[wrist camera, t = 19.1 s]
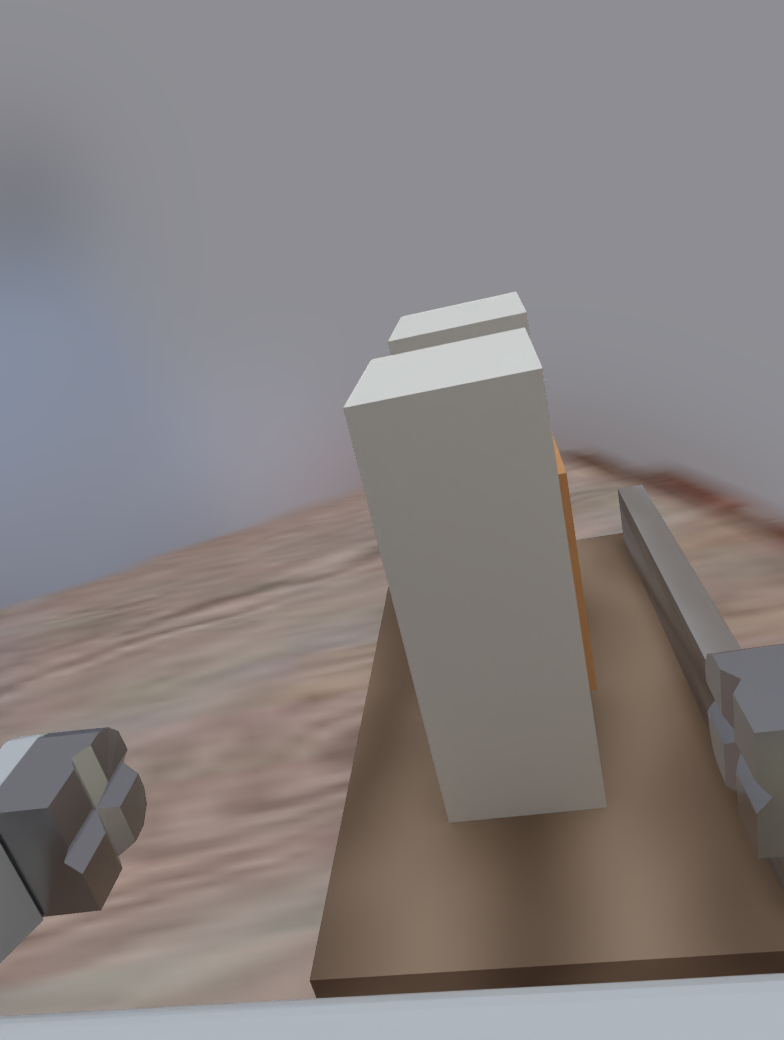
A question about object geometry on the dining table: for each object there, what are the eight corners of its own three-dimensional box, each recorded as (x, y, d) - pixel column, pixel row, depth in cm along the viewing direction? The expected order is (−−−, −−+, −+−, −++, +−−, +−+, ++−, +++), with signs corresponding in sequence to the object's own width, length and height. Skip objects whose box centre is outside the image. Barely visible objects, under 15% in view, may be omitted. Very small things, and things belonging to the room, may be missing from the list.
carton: (459, 662, 32) (388, 341, 27) (460, 594, 38) (401, 316, 32) (582, 645, 31) (533, 310, 26) (565, 578, 37) (521, 290, 31)
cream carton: (449, 823, 24) (343, 407, 19) (452, 705, 29) (371, 359, 24) (615, 806, 23) (553, 366, 18) (586, 689, 28) (532, 325, 23)
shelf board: (323, 1016, 21) (278, 901, 19) (397, 592, 42) (379, 521, 41) (869, 987, 18) (874, 852, 16) (649, 553, 40) (641, 477, 38)
